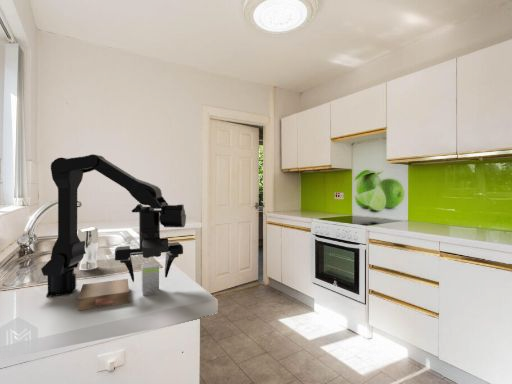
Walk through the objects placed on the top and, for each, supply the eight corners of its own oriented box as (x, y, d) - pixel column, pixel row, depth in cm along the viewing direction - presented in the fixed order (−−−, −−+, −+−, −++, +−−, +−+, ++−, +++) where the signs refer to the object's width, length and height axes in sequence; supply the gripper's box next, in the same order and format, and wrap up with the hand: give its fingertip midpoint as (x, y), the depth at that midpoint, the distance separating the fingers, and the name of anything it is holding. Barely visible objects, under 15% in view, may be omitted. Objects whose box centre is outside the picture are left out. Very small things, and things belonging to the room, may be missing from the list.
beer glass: (79, 266, 113) (78, 228, 113) (99, 265, 116) (99, 227, 116) (76, 271, 107) (75, 231, 107) (97, 269, 110) (97, 230, 109)
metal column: (142, 295, 84) (142, 268, 84) (141, 290, 88) (141, 264, 88) (159, 293, 86) (158, 266, 86) (157, 288, 90) (157, 262, 90)
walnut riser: (77, 311, 74) (77, 299, 74) (82, 294, 85) (82, 284, 85) (129, 302, 79) (129, 292, 79) (127, 288, 90) (127, 278, 90)
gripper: (114, 233, 75) (115, 293, 76) (186, 229, 83) (187, 283, 84) (114, 227, 86) (115, 280, 86) (179, 224, 94) (179, 272, 94)
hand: (149, 279), depth 87 cm, fingers open, 9 cm apart
